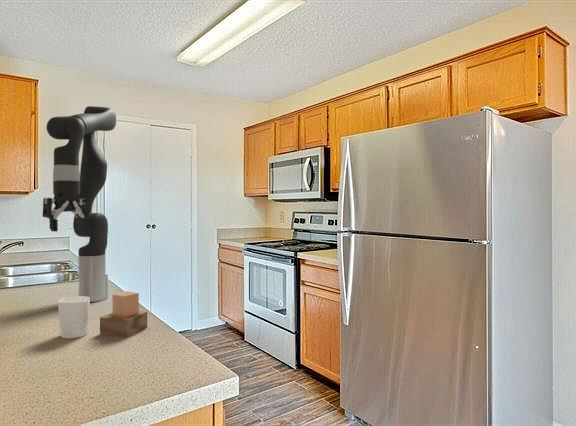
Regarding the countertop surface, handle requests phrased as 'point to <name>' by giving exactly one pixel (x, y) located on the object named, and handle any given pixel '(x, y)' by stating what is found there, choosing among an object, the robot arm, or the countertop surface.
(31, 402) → the countertop surface
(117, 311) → the terracotta block
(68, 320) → the white cup
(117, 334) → the walnut block
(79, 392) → the countertop surface
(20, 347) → the countertop surface
